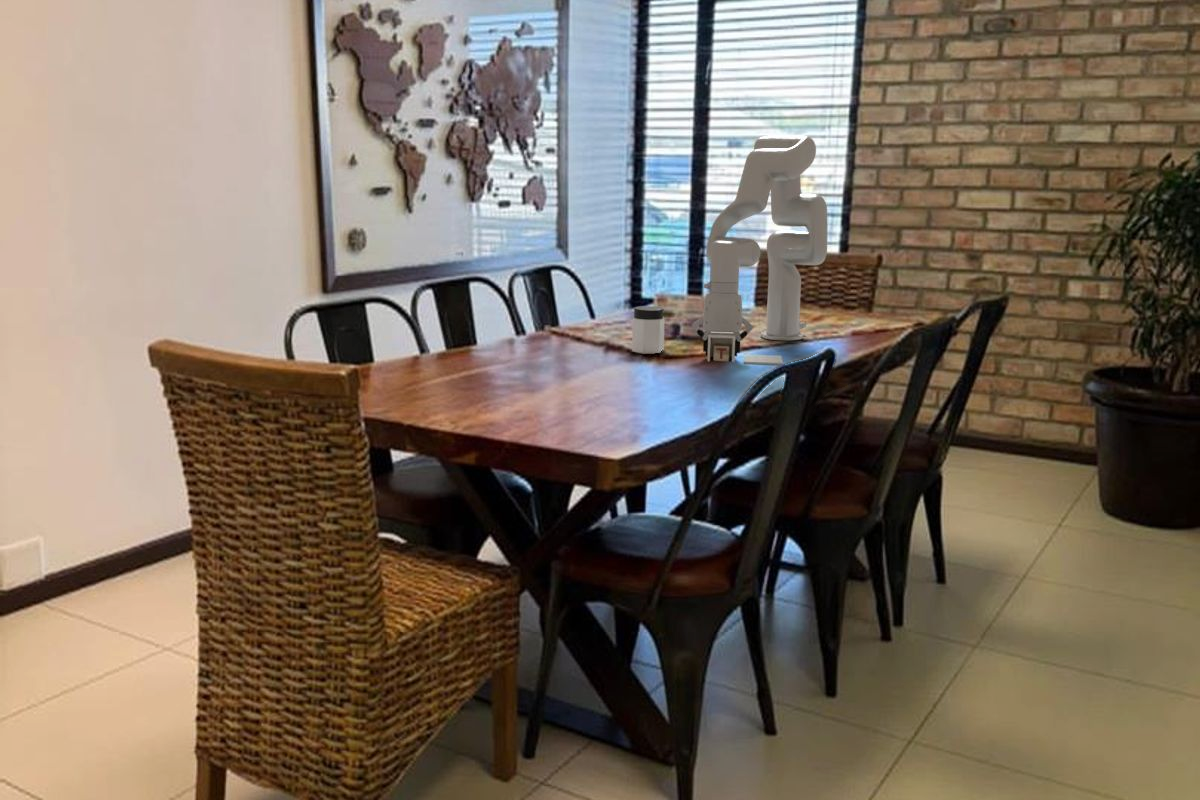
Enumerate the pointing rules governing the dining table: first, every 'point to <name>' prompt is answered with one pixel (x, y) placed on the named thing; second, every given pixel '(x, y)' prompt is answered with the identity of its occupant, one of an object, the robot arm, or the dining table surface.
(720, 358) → the letter cube
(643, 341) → the jar
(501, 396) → the dining table surface
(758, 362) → the mat
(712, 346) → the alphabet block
